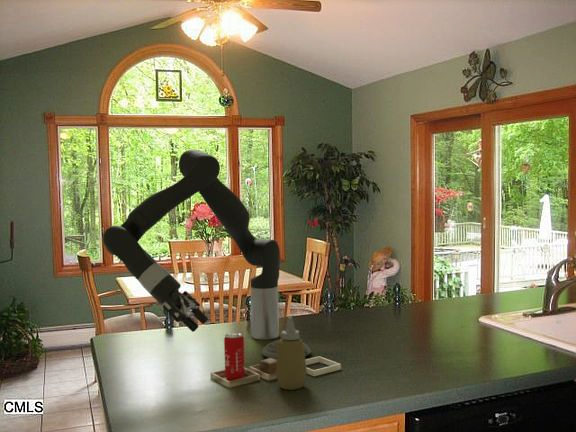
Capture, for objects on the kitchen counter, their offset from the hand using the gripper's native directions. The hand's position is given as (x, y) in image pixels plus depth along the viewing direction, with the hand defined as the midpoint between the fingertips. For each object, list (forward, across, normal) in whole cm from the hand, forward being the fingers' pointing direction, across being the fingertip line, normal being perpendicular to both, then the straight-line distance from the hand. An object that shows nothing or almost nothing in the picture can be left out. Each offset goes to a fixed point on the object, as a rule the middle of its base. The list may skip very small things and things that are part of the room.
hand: (201, 325), depth 162 cm
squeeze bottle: (+28, -4, -7) cm, 29 cm away
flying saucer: (+24, +23, -3) cm, 34 cm away
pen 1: (+17, 0, +4) cm, 17 cm away
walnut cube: (+23, +5, -2) cm, 23 cm away
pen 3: (+31, +11, -11) cm, 35 cm away
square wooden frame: (+23, +6, -3) cm, 24 cm away
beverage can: (+17, 0, +4) cm, 17 cm away
